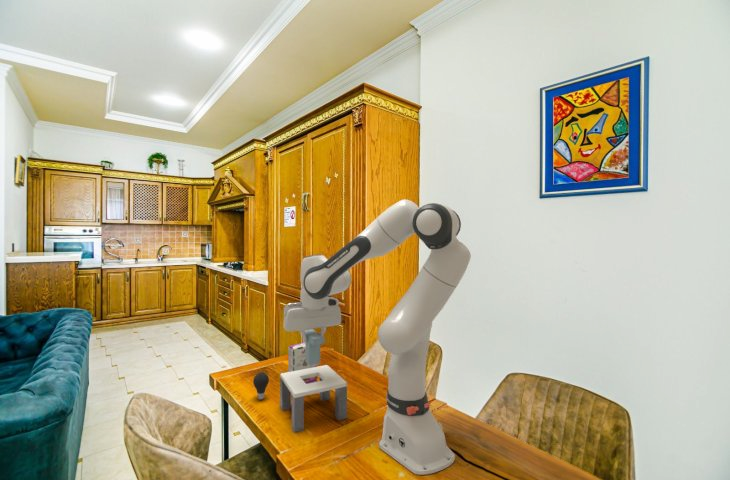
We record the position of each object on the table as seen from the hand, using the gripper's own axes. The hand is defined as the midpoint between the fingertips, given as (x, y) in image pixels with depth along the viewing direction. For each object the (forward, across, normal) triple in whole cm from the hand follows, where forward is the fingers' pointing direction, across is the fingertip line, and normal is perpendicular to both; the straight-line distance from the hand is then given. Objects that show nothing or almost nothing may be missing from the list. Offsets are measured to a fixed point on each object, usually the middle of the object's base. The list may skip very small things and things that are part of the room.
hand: (312, 340), depth 114 cm
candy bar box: (+25, +4, +24) cm, 35 cm away
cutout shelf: (+25, 0, 0) cm, 25 cm away
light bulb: (+25, -14, +18) cm, 34 cm away
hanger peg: (+8, 0, 0) cm, 8 cm away
